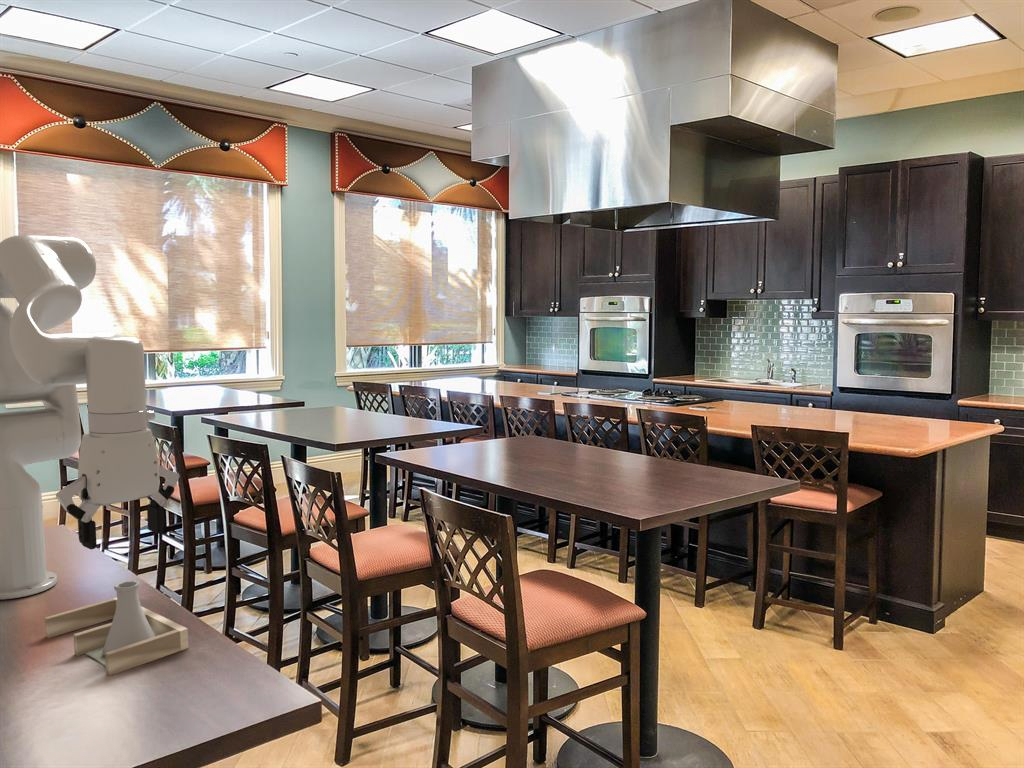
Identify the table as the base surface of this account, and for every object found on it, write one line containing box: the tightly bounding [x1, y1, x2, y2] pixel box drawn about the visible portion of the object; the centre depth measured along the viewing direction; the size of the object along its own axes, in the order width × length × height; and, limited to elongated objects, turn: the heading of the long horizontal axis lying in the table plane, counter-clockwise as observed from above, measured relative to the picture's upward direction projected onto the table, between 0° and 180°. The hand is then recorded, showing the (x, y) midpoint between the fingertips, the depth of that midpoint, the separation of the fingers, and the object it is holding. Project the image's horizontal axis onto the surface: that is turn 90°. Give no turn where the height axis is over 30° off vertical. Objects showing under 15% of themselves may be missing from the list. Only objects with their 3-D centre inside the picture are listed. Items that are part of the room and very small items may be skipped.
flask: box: [102, 580, 155, 656], centre depth 122 cm, size 7×7×10 cm
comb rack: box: [44, 596, 190, 677], centre depth 125 cm, size 21×12×3 cm, turn 51°
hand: (123, 539), depth 121 cm, fingers open, 9 cm apart
